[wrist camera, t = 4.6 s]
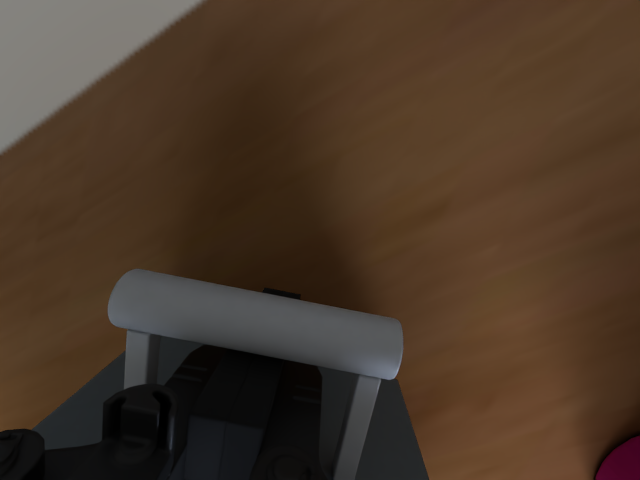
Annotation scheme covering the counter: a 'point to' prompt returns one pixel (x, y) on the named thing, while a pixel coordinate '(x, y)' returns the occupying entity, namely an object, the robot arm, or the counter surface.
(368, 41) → the counter surface
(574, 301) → the counter surface
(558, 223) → the counter surface
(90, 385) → the drawer
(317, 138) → the counter surface
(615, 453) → the pepper mill
